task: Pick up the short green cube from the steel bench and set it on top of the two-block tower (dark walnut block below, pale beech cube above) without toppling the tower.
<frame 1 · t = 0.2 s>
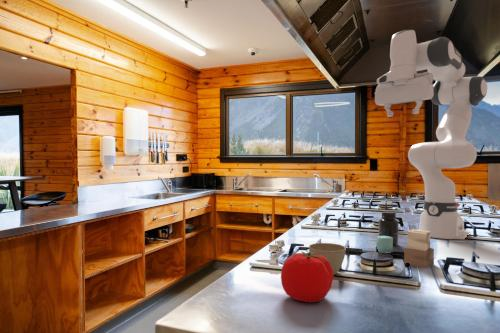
hand: (402, 115, 125), 47 cm above the countertop, tool pointing down, fingers open, 8 cm apart
tomato: (307, 299, 79), on the countertop
tower top: (418, 248, 105), point 5 cm above the countertop, touching tower base
supplement bottle: (388, 245, 130), on the countertop
flower pot: (327, 273, 97), on the countertop
tower base: (418, 264, 105), on the countertop, touching tower top
green cube: (384, 252, 119), on the countertop
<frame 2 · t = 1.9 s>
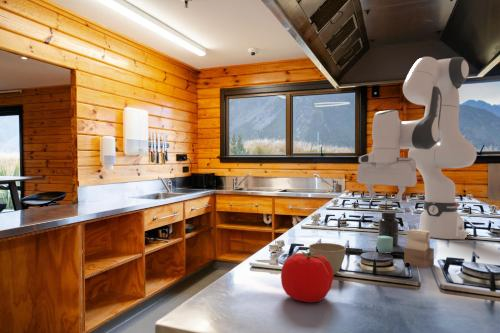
hand: (385, 198, 119), 18 cm above the countertop, tool pointing down, fingers open, 8 cm apart
nothing on the countertop moved.
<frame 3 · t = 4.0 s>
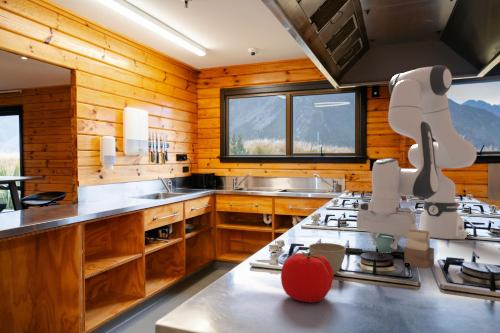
hand: (384, 247, 119), 2 cm above the countertop, tool pointing down, fingers closed on green cube, 5 cm apart
green cube: (384, 251, 119), on the countertop, touching gripper
everything else where it was.
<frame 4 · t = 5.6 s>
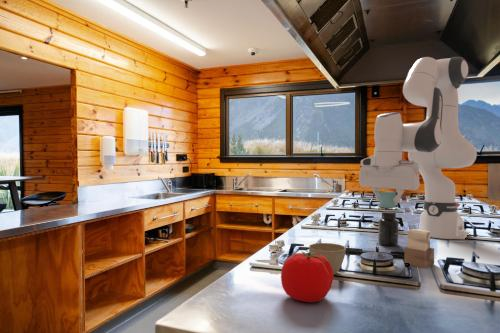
hand: (387, 201, 118), 17 cm above the countertop, tool pointing down, fingers closed on green cube, 5 cm apart
green cube: (387, 206, 118), point 16 cm above the countertop, touching gripper
everything else where it was.
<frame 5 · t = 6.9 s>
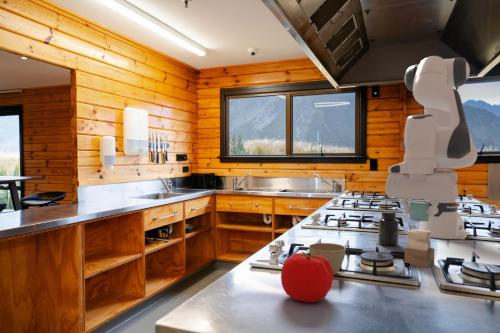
hand: (419, 214, 105), 15 cm above the countertop, tool pointing down, fingers closed on green cube, 5 cm apart
green cube: (419, 219, 105), point 13 cm above the countertop, touching gripper
everything else where it was.
when the fingers open (13 cm above the countertop, at t = 7.6 s): green cube drops 1 cm, resting on tower top.
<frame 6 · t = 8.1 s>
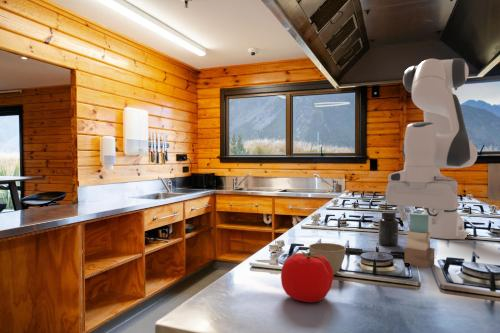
hand: (419, 222, 105), 13 cm above the countertop, tool pointing down, fingers open, 8 cm apart
tower top: (418, 247, 105), point 5 cm above the countertop, touching green cube, tower base
green cube: (419, 231, 105), point 10 cm above the countertop, touching tower top
everything else where it was.
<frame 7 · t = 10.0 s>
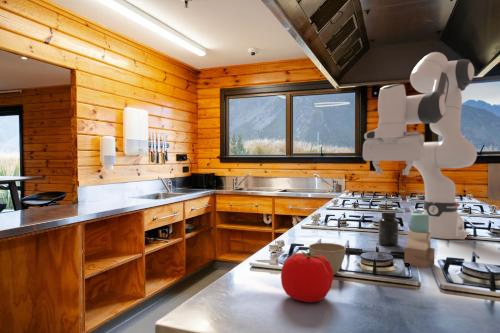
hand: (392, 174, 117), 26 cm above the countertop, tool pointing down, fingers open, 8 cm apart
nothing on the countertop moved.
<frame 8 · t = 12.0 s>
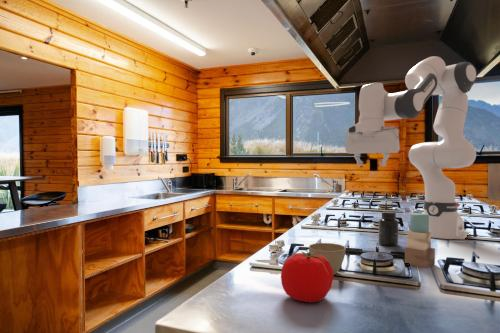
hand: (371, 165, 127), 29 cm above the countertop, tool pointing down, fingers open, 8 cm apart
nothing on the countertop moved.
at the end: green cube 0.1 cm off-centre on the tower base, point 10.0 cm above the tower base's base; tower top tilted 0°; tower top 0.2 cm from the tower base (horizontally) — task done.
